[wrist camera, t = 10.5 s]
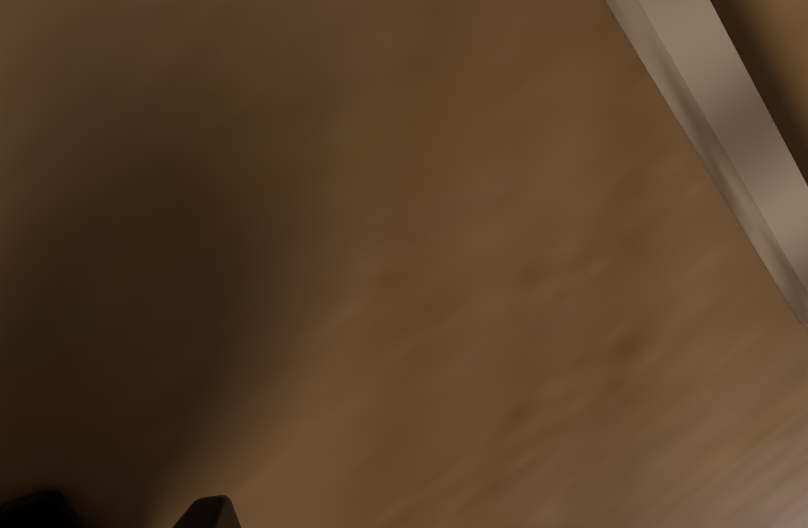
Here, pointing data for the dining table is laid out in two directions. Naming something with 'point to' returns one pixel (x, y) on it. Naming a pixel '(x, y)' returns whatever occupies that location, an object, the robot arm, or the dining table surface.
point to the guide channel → (727, 130)
